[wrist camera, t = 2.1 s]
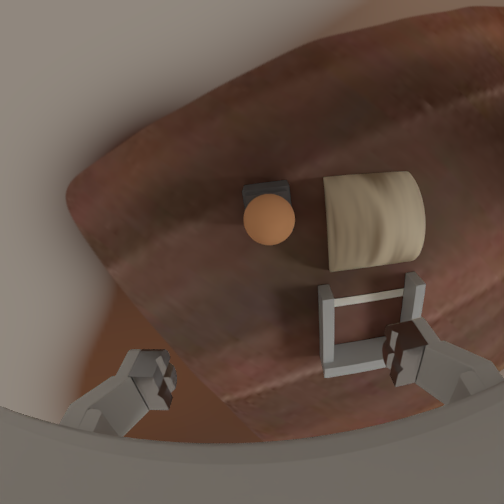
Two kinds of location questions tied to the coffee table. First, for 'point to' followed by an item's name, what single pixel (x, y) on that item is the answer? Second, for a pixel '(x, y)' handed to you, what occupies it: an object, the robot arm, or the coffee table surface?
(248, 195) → the cube with raised frame
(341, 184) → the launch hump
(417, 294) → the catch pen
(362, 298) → the line
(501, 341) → the coffee table surface
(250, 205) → the ball
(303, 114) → the coffee table surface
